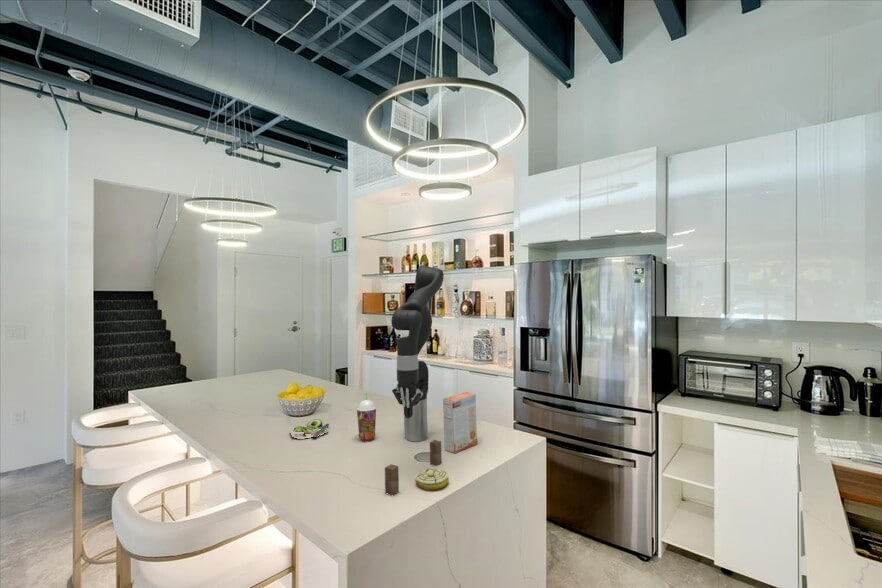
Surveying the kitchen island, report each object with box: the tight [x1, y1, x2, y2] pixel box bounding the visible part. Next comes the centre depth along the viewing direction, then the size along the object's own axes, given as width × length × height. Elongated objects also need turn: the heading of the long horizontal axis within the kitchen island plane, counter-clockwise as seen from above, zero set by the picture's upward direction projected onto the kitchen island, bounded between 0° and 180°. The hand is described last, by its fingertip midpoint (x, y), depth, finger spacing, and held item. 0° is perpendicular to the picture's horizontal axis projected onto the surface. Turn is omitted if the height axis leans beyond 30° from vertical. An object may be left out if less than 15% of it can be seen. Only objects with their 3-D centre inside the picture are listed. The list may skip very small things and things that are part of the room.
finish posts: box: [384, 439, 443, 496], centre depth 136 cm, size 3×28×8 cm, turn 147°
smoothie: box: [356, 392, 377, 442], centre depth 174 cm, size 8×8×20 cm
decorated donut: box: [414, 468, 449, 491], centre depth 131 cm, size 10×11×4 cm
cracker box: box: [442, 391, 478, 454], centre depth 162 cm, size 14×6×21 cm, turn 134°
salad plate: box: [292, 418, 330, 438], centre depth 183 cm, size 19×18×5 cm
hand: (408, 417), depth 139 cm, fingers closed
